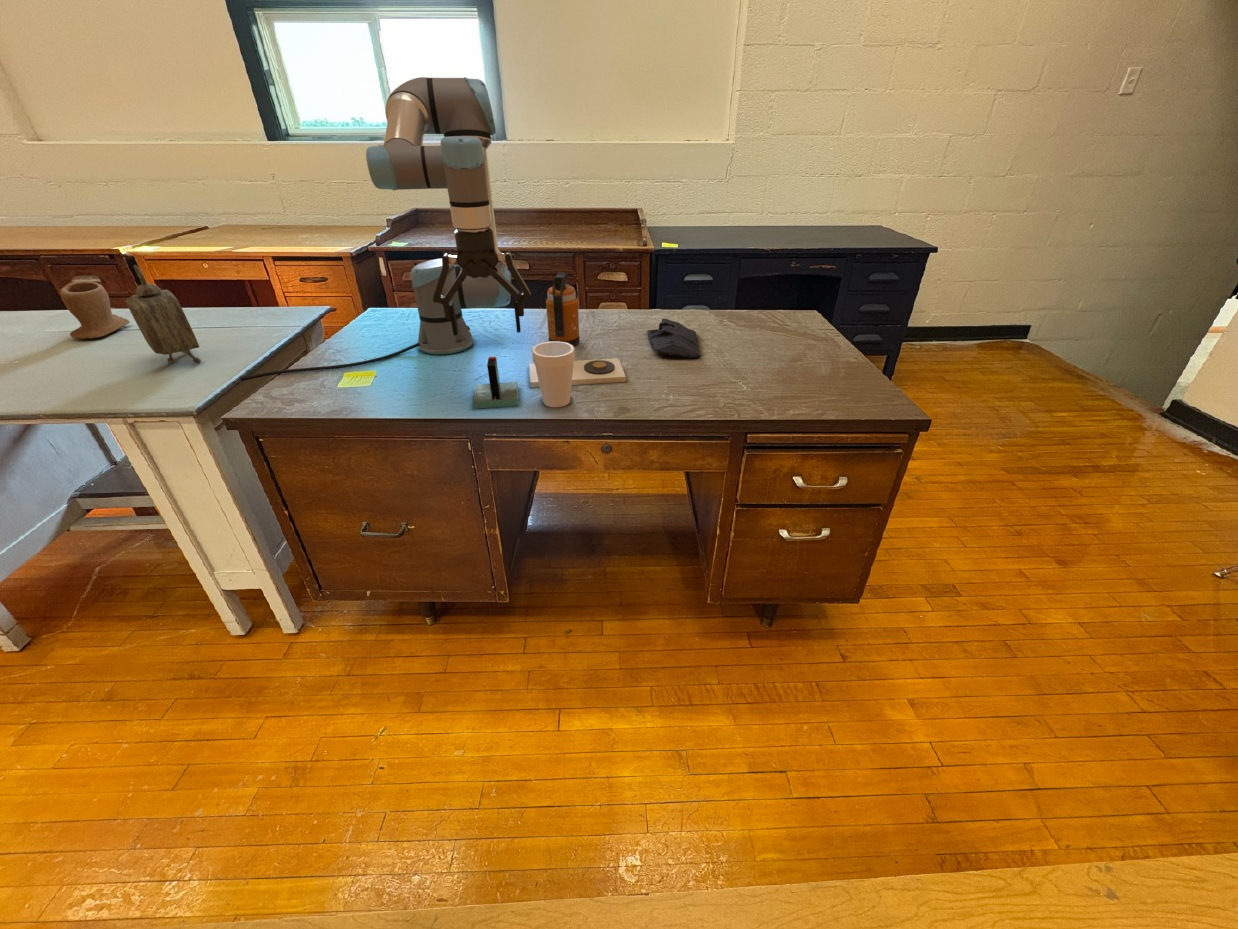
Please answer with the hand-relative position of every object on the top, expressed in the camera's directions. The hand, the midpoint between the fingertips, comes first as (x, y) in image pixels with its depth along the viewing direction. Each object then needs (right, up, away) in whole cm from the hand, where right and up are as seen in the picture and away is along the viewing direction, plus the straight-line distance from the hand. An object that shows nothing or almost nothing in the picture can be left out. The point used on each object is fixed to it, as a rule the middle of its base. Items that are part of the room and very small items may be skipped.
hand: (487, 331), depth 115 cm
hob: (+18, -6, +21) cm, 28 cm away
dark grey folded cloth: (+45, +6, +38) cm, 59 cm away
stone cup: (-128, +11, +44) cm, 136 cm away
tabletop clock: (-90, -1, +27) cm, 94 cm away
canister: (+13, +6, +38) cm, 41 cm away
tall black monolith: (0, -12, +8) cm, 14 cm away
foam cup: (+14, -14, +8) cm, 22 cm away
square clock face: (0, -14, +9) cm, 16 cm away
